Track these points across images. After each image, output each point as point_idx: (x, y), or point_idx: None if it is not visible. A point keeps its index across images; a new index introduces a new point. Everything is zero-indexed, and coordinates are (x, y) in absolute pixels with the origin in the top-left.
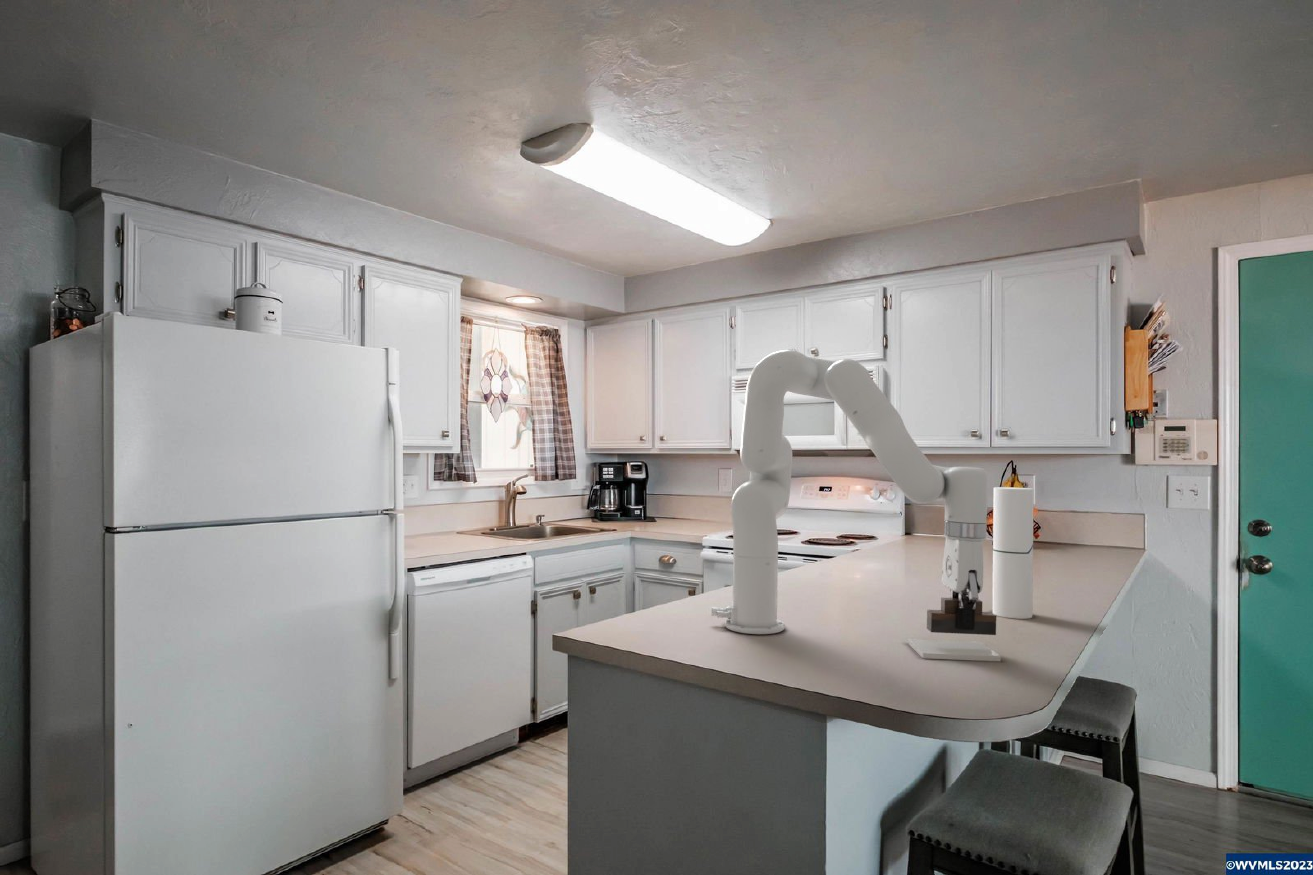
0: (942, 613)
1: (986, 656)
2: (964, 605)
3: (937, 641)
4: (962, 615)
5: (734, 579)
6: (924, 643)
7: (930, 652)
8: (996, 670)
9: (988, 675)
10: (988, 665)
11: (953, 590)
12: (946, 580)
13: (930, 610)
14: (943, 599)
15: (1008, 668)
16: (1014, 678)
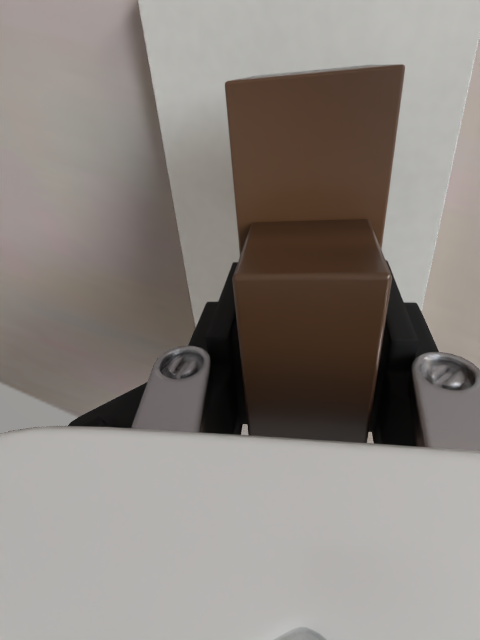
0: (237, 199)
1: (193, 309)
2: (141, 389)
3: (422, 157)
4: (204, 332)
5: None
6: (371, 53)
7: (165, 48)
8: (86, 294)
9: (9, 249)
10: (140, 289)
11: (83, 427)
12: (432, 553)
13: (355, 99)
14: (288, 275)
15: (127, 337)
16: (20, 316)
